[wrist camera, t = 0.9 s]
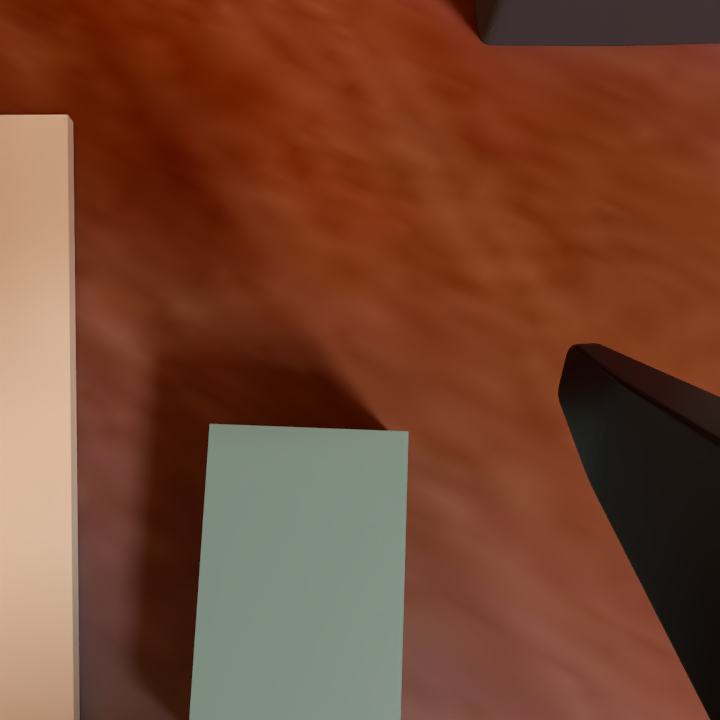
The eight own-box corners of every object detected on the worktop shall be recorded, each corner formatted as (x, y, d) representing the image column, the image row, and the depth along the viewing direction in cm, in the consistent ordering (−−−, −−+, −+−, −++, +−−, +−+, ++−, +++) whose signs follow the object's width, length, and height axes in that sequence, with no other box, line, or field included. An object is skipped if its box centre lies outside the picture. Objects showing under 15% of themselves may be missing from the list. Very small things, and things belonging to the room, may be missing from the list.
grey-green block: (377, 738, 19) (397, 817, 15) (207, 740, 19) (182, 823, 15) (387, 431, 21) (408, 431, 17) (227, 425, 20) (209, 423, 16)
